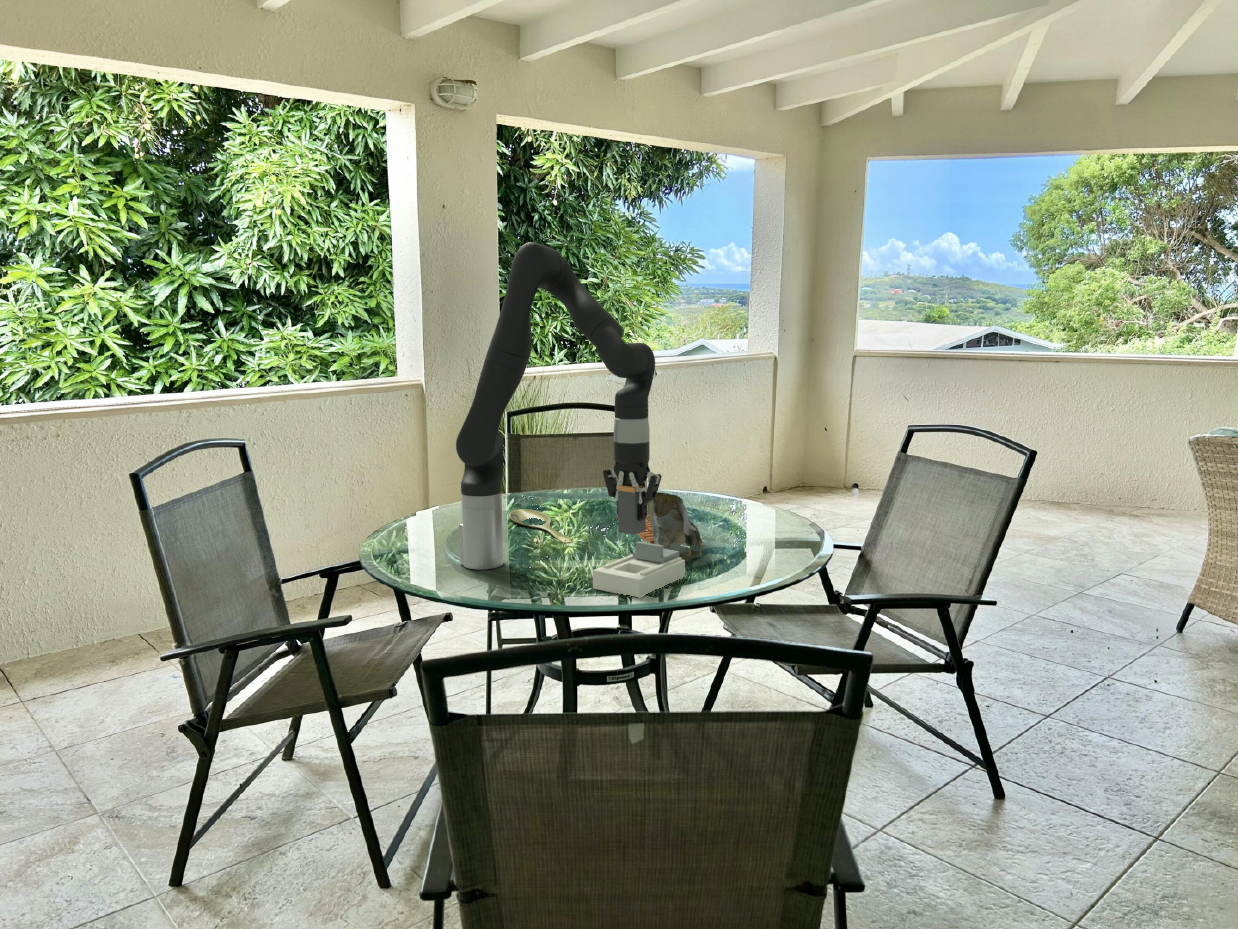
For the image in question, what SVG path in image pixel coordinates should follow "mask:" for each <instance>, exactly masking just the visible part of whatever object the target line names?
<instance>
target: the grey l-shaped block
mask: <svg viewBox="0 0 1238 929" xmlns="http://www.w3.org/2000/svg"><path fill="white" fill-rule="evenodd" d="M632 554H633V558H638V559H643V560H648V561H654V562H659V563H665V562H667V561H669V560H672V559H674V558H676V557H679V551H674V550H669V549H663V545H657V544H652V543H647V542H646V541H639V540H638V541H636V542H635V551H633V552H632Z"/></svg>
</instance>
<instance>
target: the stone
mask: <svg viewBox="0 0 1238 929" xmlns="http://www.w3.org/2000/svg"><path fill="white" fill-rule="evenodd" d="M647 515H648V516H649V520H650V523H651V528H652V532H653V533H652V535H653V536H654V544H657V545H663V549H669V550H674V551H679V557H681V558H682V560H685V563H691V562H692V560H693V559H696V558H697V559H698V558H700V557H702V556H703V547H704V546H705V543H703V542H704V541H703V538H701V533H700V530H699V528H698V527H697V526H696V525H695V524H694V523H693V522H692V520H691V519H690V517H689V512H688V510H687V508H686V506H685V504H684V499H683V498H682V497H681V496H678V495H677V494H671V493H666V492H663V491H662V492H659V491H657V495H656V498H655V500H652V501H649V502H648V503H647ZM681 545H684V546H690V548H688V547H684V546H681Z"/></svg>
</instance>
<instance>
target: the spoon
mask: <svg viewBox="0 0 1238 929" xmlns="http://www.w3.org/2000/svg"><path fill="white" fill-rule="evenodd" d="M508 515H509V516H508V517H509V518H510V520H511V521H512V522H514V523H517V524H519V525H522V526H526V527H529V528H530V527H531V528H536V529H542V530H545V531H547V532H548V533H550V534H551V536H553V537H554V538H555V539H556V540H557V541H558V540H560V541H559V542H561V541H562V542H561V543H563V542H564V543H563V544H571V543H573V541H574V540H572V538H571V539H570V538H569V537H567V536H566V535H564V534H563V533H561V532H559V531H558V530H556V529H554V528H553V527H552V526H551V523H552V519H551V517H550V516H549V515H548V514H547V513H544V512H541V511H539V510H535V509H527V508H521V509H520V508H519V509H514V510H511V511H510V512H509V514H508ZM529 518H530V519H531V518H537V519H541V520H542V521H546V523H545V524H543V525H539V524H538V525H537V524H536V525H535V524H533V525H531V524H528V525H527V524H524V523H522V522H521V521H524V520H526V519H529ZM565 540H566V541H565Z"/></svg>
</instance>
